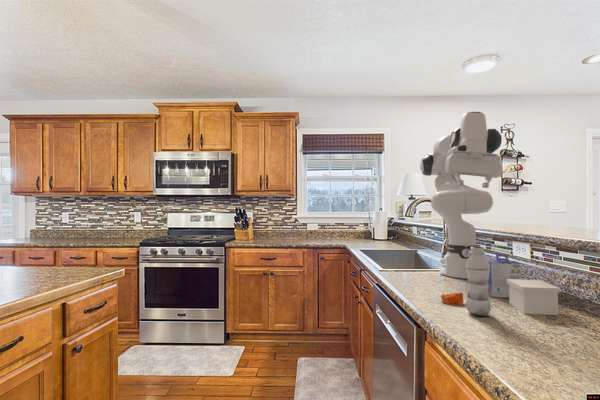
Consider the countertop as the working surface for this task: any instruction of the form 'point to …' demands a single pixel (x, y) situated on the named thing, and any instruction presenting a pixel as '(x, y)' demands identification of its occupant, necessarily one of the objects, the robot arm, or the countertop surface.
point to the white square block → (533, 296)
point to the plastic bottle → (478, 282)
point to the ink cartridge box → (502, 275)
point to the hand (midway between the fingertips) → (472, 186)
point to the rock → (453, 298)
